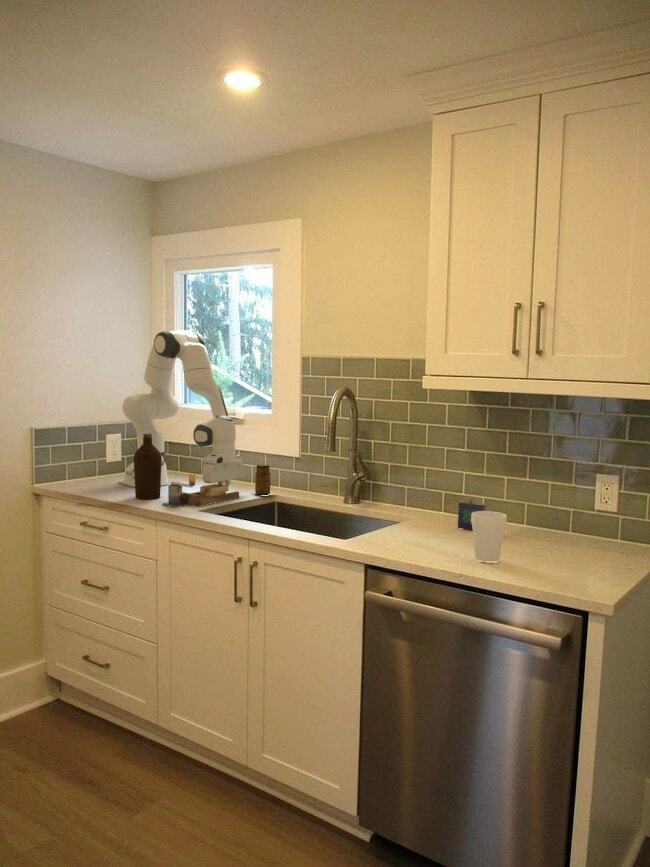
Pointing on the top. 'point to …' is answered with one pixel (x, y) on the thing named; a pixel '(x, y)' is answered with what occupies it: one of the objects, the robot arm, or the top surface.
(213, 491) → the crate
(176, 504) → the grey cylinder
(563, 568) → the top surface
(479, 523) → the foam cup
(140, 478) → the olive oil
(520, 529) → the top surface
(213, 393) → the robot arm
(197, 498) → the bay
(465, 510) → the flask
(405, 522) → the top surface
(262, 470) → the condiment
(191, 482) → the crank
